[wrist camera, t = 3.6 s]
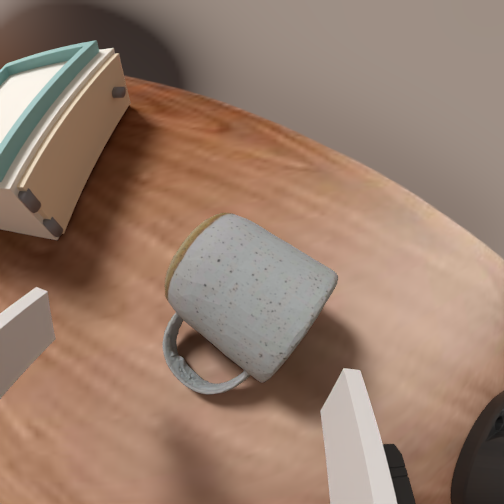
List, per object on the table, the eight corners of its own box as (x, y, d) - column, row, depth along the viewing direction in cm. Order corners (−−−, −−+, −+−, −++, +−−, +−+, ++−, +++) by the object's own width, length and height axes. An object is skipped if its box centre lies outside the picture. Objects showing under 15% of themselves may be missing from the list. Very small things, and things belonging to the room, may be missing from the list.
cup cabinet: (140, 103, 29) (126, 34, 20) (72, 244, 21) (14, 177, 13) (25, 112, 28) (2, 64, 20) (-39, 221, 21) (-83, 178, 12)
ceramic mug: (229, 237, 23) (229, 176, 16) (318, 297, 21) (359, 258, 14) (141, 346, 19) (96, 331, 12) (235, 417, 18) (238, 443, 11)
